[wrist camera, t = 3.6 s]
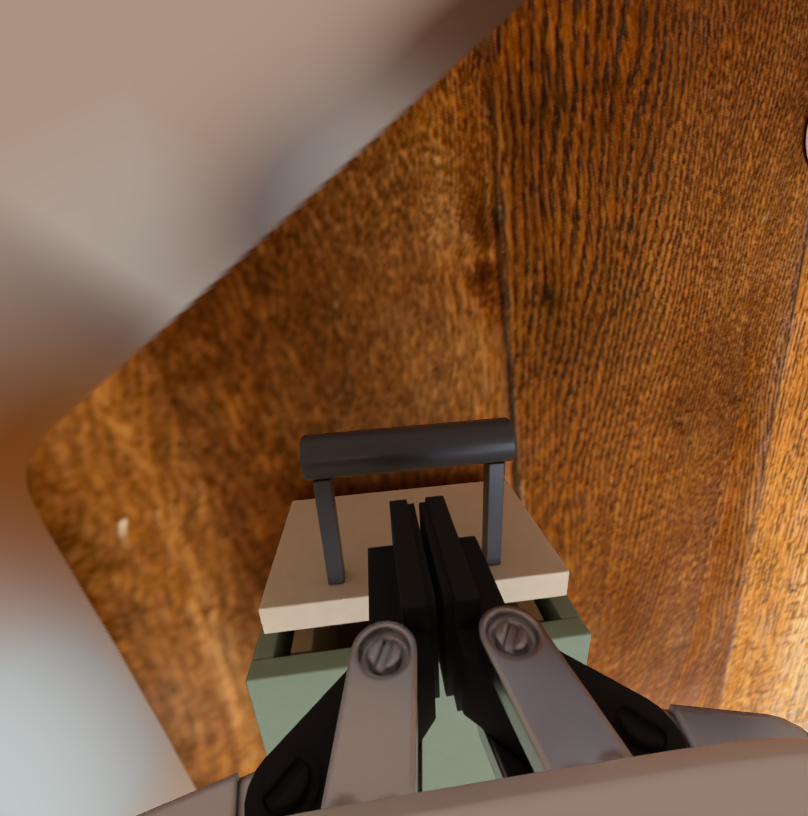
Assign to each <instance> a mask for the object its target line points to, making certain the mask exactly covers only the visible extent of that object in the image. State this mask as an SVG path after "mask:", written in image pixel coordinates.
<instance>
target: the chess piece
mask: <svg viewBox="0 0 808 816" xmlns="http://www.w3.org/2000/svg"><path fill="white" fill-rule="evenodd" d="M805 144H806V154H807V158H808V125H807V130H806V141H805Z"/></svg>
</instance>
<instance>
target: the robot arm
mask: <svg viewBox="0 0 808 816" xmlns="http://www.w3.org/2000/svg"><path fill="white" fill-rule="evenodd" d="M389 506H390V519H391V532H392V544H393V545H389V546H381V547H372V548H368V595H369V626H367V627H366V628H365V629H363V630H362V631H361V632H360V633H359V634H358V636H357V637H356V638H355V640H354V642H353V645H352V648H351V652H350V657H349V663H348V668H347V671H346V672H345V673H344V674H343V675H342V676H341V677H340V678H339V679H338V680H337V681H336V682H335V683H334V685H333V686H332V687H331V688H330V689H329V690H328V691H327V692H326V693H325V694H324V695H323V696H322V697H321V698H320V700H319V701H318V702H317V703H316V704H315V705H314V706H313V707H312V708H311V709H310V710H309V711H308V712H307V714H306V715H305V716H304V717H303V718H302V719H301V720H300V721H299V722H298V723H297V724H296V725H295V726H294V728H293V729H292V730H291V731H290V732H289V733H288V734H287V735H286V736H285V737H284V738H283V739H282V740H281V741H280V743H279V744H278V745H277V746H276V747H275V748H274V749H273V750H272V751H271V752H270V753H269V754H268V755H267V757H266V758H265V759H264V760H263V762H262V763H261V764H260V766H259V767H258V768H257V770H256V771H255V772H253V773H251V774H248V775H246V776H244V777H241V778H239V775H238V773H236V774H234V775H231V776H229V777H226V778H224V779H222V780H219V781H217V782H215V783H212V784H210V785H208V786H205V787H203V788H201V789H198V790H196V791H194V792H191V793H189V794H187V795H184V796H182V797H179V798H177V799H175V800H172V801H170V802H168V803H165V804H163V805H161V806H158V807H156V808H154V809H151V810H149V811H147V812H144V813H142V814H140V815H137V816H808V733H807V732H806V731H805V730H803V729H802V728H801V727H799V726H797V725H795V724H793V723H791V722H789V721H787V720H785V719H783V718H780V717H776V716H772V715H768V714H759V713H750V712H740V711H730V710H721V709H711V708H701V707H692V706H682V705H672V704H670V707H669V710H665V709H661V708H660V707H659V706H657V705H656V704H654V703H653V702H651V701H650V700H648V699H647V698H645V697H643V696H641V695H640V694H638V693H636V692H634V691H632V690H630V689H629V688H627V687H625V686H623V685H621V684H619V683H618V682H616V681H614V680H612V679H610V678H608V677H607V676H605V675H603V674H601V673H599V672H598V671H596V670H594V669H592V668H590V667H588V666H587V665H585V664H583V663H581V662H579V661H577V660H576V659H574V658H572V657H570V656H568V655H567V654H565V653H563V652H561V651H559V649H558V648H557V646H556V645H555V644H554V642H553V641H552V639H551V638H550V636H549V635H548V634H547V632H546V631H545V629H544V628H543V626H542V625H541V624H540V622H539V621H538V620H537V619H536V618H535V617H534V616H533V615H531V614H530V613H529V612H527V611H526V610H523V609H521V608H518V607H516V606H509V605H505V603H504V600H503V598H502V596H501V593H500V591H499V589H498V587H497V584H496V582H495V580H494V577H493V575H492V573H491V570H490V568H489V566H488V564H487V561H486V559H485V557H484V554H483V552H482V550H481V548H480V545H479V543H478V541H477V539H476V537H475V536H467V537H458V534H457V532H456V529H455V526H454V524H453V521H452V518H451V515H450V513H449V510H448V507H447V505H446V502H445V499H444V497H443V495H441V496H432V497H425V502H420V503H419V518H420V528H419V523H418V519H417V514H416V510H415V506H414V503H411V504H407V499H403V500H394V501H389ZM439 664H440V669H441V674H442V679H443V684H444V689H445V694H446V696H454V699H455V703H456V708H457V711H463V714H464V715H465V716H466V717H468V718H469V719H470V720H472V721H473V722H474V723H476V724H477V728H478V732H479V736H480V739H481V742H482V744H483V747H484V749H485V752H486V754H487V757H488V760H489V762H490V765H491V767H492V770H493V772H494V775H495V777H496V779H495V780H489V781H483V782H477V783H471V784H465V785H459V786H453V787H447V788H441V789H436V790H430V791H424V792H423V738H424V736H425V735H426V733H427V732H428V730H429V729H430V727H431V726H432V724H433V722H434V721H435V719H436V705H435V698H440V686H439Z"/></svg>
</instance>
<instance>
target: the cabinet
mask: <svg viewBox="0 0 808 816" xmlns="http://www.w3.org/2000/svg"><path fill="white" fill-rule="evenodd" d="M534 602H535V604H536V606H537V607H538V609H539V611H540V613H541V615H542V617H543V619H544V621H543V622H540V624H541V625H542V626H543V628H544V629H545V631H546V632H547V634H548V635H549V636H550V638H551V639H552V641H553V642H554V644H555V645H556V646H557V648H558V649H559V651H561V652H563V653H565V654H567V655H568V656H570V657H572V658H574V659H576V660H577V661H579V662H581V663H583V664H585V665H586V664H587V658H588V651H589V645H590V639H591V633H590V631H589V630H588V628H587V627H586V625H585V624H584V622H583V620H582V619H581V618H580V615H579V614H578V612H577V610H576V609H575V607H574V606H573V604H572V603H571V601H570V599H569V598H568V596H567V595H565V596H557V597H550V598H542V599H534ZM294 633H295V630H292V631H284V632H276V633H269V634H264V631H263V627H262V628H261V631H260V634H259V638H258V641H257V645H256V648H255V652H254V655H253V659H252V660H253V661H252V662H251V665H250V669H249V672H248V676H247V679H246V684H247V687H248V691H249V695H250V698H251V702H252V705H253V709H254V712H255V716H256V719H257V723H258V726H259V730H260V733H261V737H262V740H263V744H264V747H265V751H266V754H267V755H268V754H269V753H270V752H271V751H272V750H273V749H274V748H275V747H276V746H277V745H278V744H279V743H280V741H281V740H282V739H283V738H284V737H285V736H286V735H287V734H288V733H289V732H290V731H291V730H292V729H293V728H294V726H295V725H296V724H297V723H298V722H299V721H300V720H301V719H302V718H303V717H304V716H305V715H306V714H307V712H308V711H309V710H310V709H311V708H312V707H313V706H314V705H315V704H316V703H317V702H318V701H319V700H320V698H321V697H322V696H323V695H324V694H325V693H326V692H327V691H328V690H329V689H330V688H331V687H332V686H333V685H334V683H335V682H336V681H337V680H338V679H339V678H340V677H341V676H342V675H343V674H344V673H345V672H346V671H347V668H348V663H349V657H350V652H351V648H352V647H351V648H344V649H336V650H329V651H321V652H314V653H306V654H299V655H291V648H292V643H293V638H294ZM439 686H440V698H435V705H436V719H435V721H434V722H433V724H432V726H431V727H430V729H429V730H428V732H427V733H426V735H425V736H424V738H423V792H424V791H430V790H436V789H441V788H447V787H453V786H459V785H465V784H471V783H477V782H483V781H489V780H495V779H496V777H495V775H494V772H493V770H492V767H491V765H490V762H489V760H488V757H487V754H486V752H485V749H484V747H483V744H482V742H481V739H480V736H479V732H478V728H477V724H476V723H474V722H473V721H472V720H470V719H469V718H468V717H466V716H465V715H464V714H463V711H457V708H456V703H455V699H454V696H446V694H445V689H444V684H443V679H442V674H441V669H440V664H439Z"/></svg>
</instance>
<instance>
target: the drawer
mask: <svg viewBox="0 0 808 816" xmlns="http://www.w3.org/2000/svg"><path fill="white" fill-rule="evenodd" d="M515 453H516V436H515V431H514V428H513V425H512V423H511V421H510V420H509V419H508V418H493V419H482V420H471V421H459V422H448V423H437V424H426V425H414V426H403V427H392V428H380V429H369V430H358V431H347V432H335V433H324V434H313V435H305V436H303V437H302V439H301V443H300V463H301V470H302V474H303V476H304V479H305V480H308V481H309V480H313V488H314V494H315V499H306V500H296V501H292V504H291V507H290V510H289V514H288V517H287V520H286V523H285V526H284V529H283V533H282V536H281V539H280V542H279V545H278V549H277V552H276V555H275V558H274V561H273V565H272V568H271V571H270V574H269V577H268V580H267V584H266V587H265V590H264V593H263V596H262V600H261V603H260V606H259V609H258V610H259V615H260V619H261V623H262V627H263V631H264V634H269V633H276V632H284V631H292V630H295V633H294V638H293V643H292V648H291V655H299V654H306V653H314V652H321V651H329V650H336V649H344V648H351V647H352V645H353V642H354V640H355V638H356V637H357V636H358V634H359V633H360V632H361V631H362V630H363V629H365V628H366V627H367V626H369V595H368V548H372V547H381V546H389V545H393V544H392V532H391V519H390V506H389V501H394V500H403V499H407V504H411V503H414V506H415V510H416V514H417V519H418V523H419V528H420V518H419V503H420V502H425V497H432V496H441V495H443V497H444V499H445V502H446V505H447V507H448V510H449V513H450V515H451V518H452V521H453V524H454V526H455V529H456V532H457V534H458V537H467V536H475V537H476V539H477V541H478V543H479V545H480V548H481V550H482V552H483V554H484V557H485V559H486V561H487V564H488V566H489V568H490V570H491V573H492V575H493V577H494V580H495V582H496V584H497V587H498V589H499V591H500V593H501V596H502V598H503V600H504V603H505V605H509V606H516V607H518V608H521V609H523V610H526V611H527V612H529V613H530V614H531V615H533V616H534V617H535V618H536V619H537V620H538V621H539V622H543V621H544V619H543V617H542V615H541V613H540V611H539V609H538V607H537V606H536V604H535V602H534V599H542V598H550V597H557V596H565V595H566V594H567V586H568V578H569V570H568V569H567V567H566V566H565V565H564V563H563V562H562V560H561V559H560V557H559V556H558V554H557V553H556V552H555V550H554V549H553V547H552V546H551V544H550V543H549V541H548V540H547V539H546V537H545V536H544V534H543V533H542V531H541V530H540V528H539V527H538V526H537V524H536V523H535V521H534V520H533V518H532V517H531V516H530V514H529V513H528V511H527V510H526V508H525V507H524V505H523V504H522V503H521V501H520V500H519V498H518V497H517V495H516V494H515V492H514V491H513V490H512V488H511V487H510V485H509V484H508V482H507V481H506V480H505V479H504V472H505V463H504V461H510V460H512V459H513V458H514V456H515ZM482 463H484V475H483V481H482V482H472V483H463V484H453V485H443V486H433V487H423V488H414V489H404V490H394V491H384V492H374V493H364V494H355V495H345V496H335V493H334V485H333V478H340V477H350V476H360V475H370V474H380V473H391V472H401V471H411V470H421V469H431V468H441V467H452V466H462V465H472V464H482Z"/></svg>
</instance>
